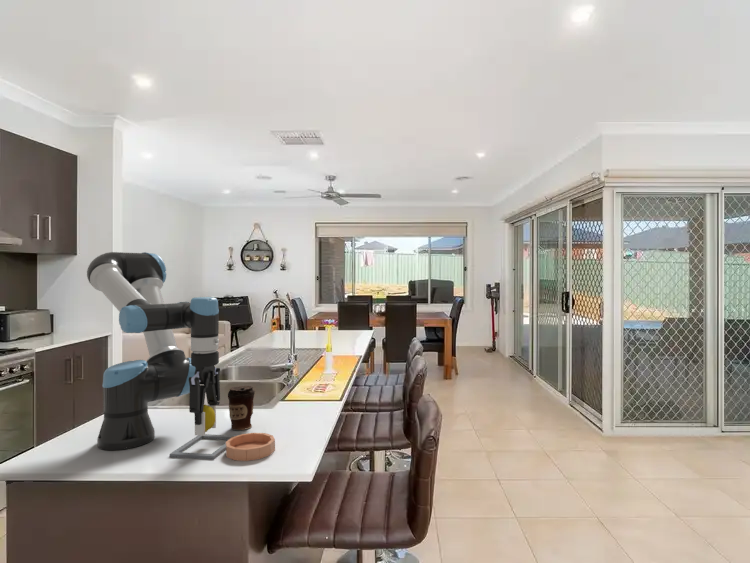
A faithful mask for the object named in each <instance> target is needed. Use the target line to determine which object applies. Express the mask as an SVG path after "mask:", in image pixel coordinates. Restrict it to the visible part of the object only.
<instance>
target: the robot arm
mask: <svg viewBox="0 0 750 563" xmlns="http://www.w3.org/2000/svg"><path fill="white" fill-rule="evenodd" d="M166 271H167V268H166V265H165V262H164V260H163V259H162V257H161V256H160V255H159V254H156V253H149V252H146V251H145V252H117V251H111V252H105V253H102V254H100V255H97V257H95V258H94V259H93V260H92V261H90V263H89V265H88V266H87V269H86V277H87V281H88V283H89V284H90V285H91V286H92V287H93V288H94V289H95V290H96V291H99V292H102V294H103V295H104V296H105V297H106V298H107V299H108V300H109V302H110V303H111V304H112V305H113V307H115V308H116V310H117V311H118V313H119V314H118V323H119V324H118V325H120V330H121V331H122V332H124V333H127V334H129V333H131V334H133V333H135V334H141V333H143V336H144V340H145V343H146V348H147V350H148V354H149V356H148V358H147V360H144V359H136V360H128V361H124V362H119V363H117V364H116V363H115V364H114V365H111V366H109V367H108V368H106V369H105V371H103V376H102V389H103V390H102V391H103V392H102V393H103V395H102V396H103V399H102V400H103V420H102V423H101V426H100V429H99V432H98V433H99V434H98V435H97V439H96V440H97V442H96V443H97V448H99V449H100V450H102V451H103V450H105V451H120V450H121V451H122V450H128V449H133V448H137V447H141V446H143V445H146V444H148V443H150V442H152V441H153V440H154V439H155V435H156V434H155V433H156V432H155V428H154V426H153V422H152V421H151V417H150V415H149V407H148V405H149V403H151V402H155V401H156V402H157V401H161V400H165V399H166V400H167V399H171V398H178V397H181V396H184V395H188V394H189V408H188V409H189V410H188V411H189V413H190V414H191V413H192V414H194V436H204V435H205V434H206V432H205V412H203V408H204V405H205V399H206V401H207V404H206V405H207V406H210V407H211V408H213V410H214V412H215V423H214V425H213V427H212V428H211V429H216V428H217V406H219V405H220V401H221V390H220V389H221V388H220V387H221V386H220V384H221V383H220V381H221V380H220V375H221V368H220V367H216V365H218V364H219V362H220V357H219V356H220V354H219V351H218V349H219V348H220V347H219V344H220V339H219V325H220V324H219V321H220V318H219V317H220V316H219V315H220V314H219V313H220V310H219V301H218V298H216V297H213V296H202V297H201V296H198V297H192V298H191V300H190V301H178V302H174V303H165V302H164V298H163V294H162V292H161V289H162V288H163V286H164V283H165V282H166V279H167V272H166ZM178 329H190V351H191V353H190V357H186V354H185V351H184V350H183V349H181V348H178V345H177V342H176V338H175V336H174V332H173V330H178Z"/></svg>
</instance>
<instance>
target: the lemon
mask: <svg viewBox="0 0 750 563" xmlns="http://www.w3.org/2000/svg"><path fill="white" fill-rule="evenodd" d="M207 405H208V404H204V408H203V412H205V433H207V432H208V431H209V430H211V429H213V428H212V427H213V425H214V423H215V412H214V410H213V408H211V407H210V406H207Z"/></svg>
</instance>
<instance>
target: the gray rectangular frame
mask: <svg viewBox="0 0 750 563" xmlns="http://www.w3.org/2000/svg"><path fill="white" fill-rule="evenodd" d="M235 436H236V435H232V434H229V435H228V434H209V433H207V434H206V433H205V435H204V436H198V435H195V437H194V438H192V439H190V440H188V441H187V442H185V443H184V444H183V445H181V446H180V447H178V448H176V449H175V450H173V451H172V452H170V453H169V458H181V457H183V459H185V458H186V459H202V460H204V459H205V460H215V459H216V458H218V457H219V456H220V455H222V453H224V452H226V442H225V443H223V445H221V446H220V447H219V448H218V449H216V450H214V451H213V452H211V453H201V452H185V451H186V450H187V449H189V448H190V447H191V446H193V445H195V444H196V443H198V442H199V441H201V440H203V439H205V440H206V439H207V440H222V441H223V440H225V441H226V440H227V441H228V440H229V439H230V438H232V437H235Z"/></svg>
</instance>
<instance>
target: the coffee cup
mask: <svg viewBox="0 0 750 563" xmlns="http://www.w3.org/2000/svg"><path fill="white" fill-rule="evenodd" d="M255 392H256V391H255V389H254V387H253V386H251V385H239V386H233V387H230V388H229V390H228V392H227V398H228V412H229V418H230V422H231V425H230V427H231V430H235V431H240V430H241V431H242V430H248V429H251V428H252V427H253V425H252V423H251V419H252V416H253V414H254V397H255Z"/></svg>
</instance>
